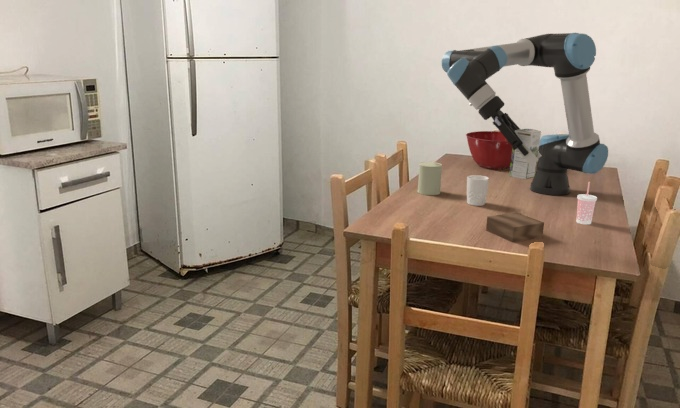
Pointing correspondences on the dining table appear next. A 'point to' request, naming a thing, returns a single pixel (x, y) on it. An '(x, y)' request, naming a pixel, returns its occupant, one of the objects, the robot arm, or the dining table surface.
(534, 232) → the walnut block
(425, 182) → the can
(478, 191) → the white cup
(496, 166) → the mixing bowl
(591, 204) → the beverage cup
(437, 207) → the dining table surface
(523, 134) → the drink carton
